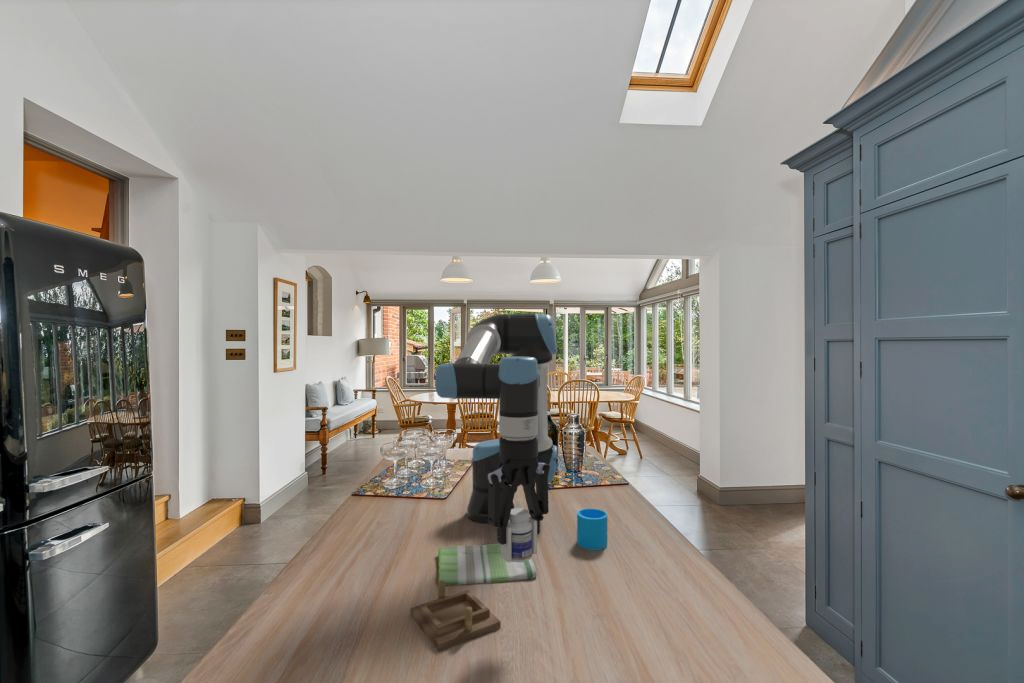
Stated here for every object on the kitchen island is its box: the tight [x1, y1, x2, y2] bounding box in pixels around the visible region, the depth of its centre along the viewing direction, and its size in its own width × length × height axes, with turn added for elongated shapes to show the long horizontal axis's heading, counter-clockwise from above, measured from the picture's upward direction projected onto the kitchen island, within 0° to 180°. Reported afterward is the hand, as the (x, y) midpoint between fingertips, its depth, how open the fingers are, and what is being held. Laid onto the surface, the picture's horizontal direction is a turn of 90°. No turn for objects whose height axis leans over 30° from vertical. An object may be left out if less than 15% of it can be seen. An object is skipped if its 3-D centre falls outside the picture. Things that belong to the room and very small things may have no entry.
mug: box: [576, 508, 608, 551], centre depth 135 cm, size 12×8×8 cm
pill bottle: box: [508, 507, 533, 562], centre depth 95 cm, size 5×5×9 cm
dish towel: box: [437, 542, 537, 585], centre depth 120 cm, size 17×23×4 cm
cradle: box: [409, 580, 502, 652], centre depth 97 cm, size 14×13×5 cm
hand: (519, 555), depth 95 cm, fingers closed on pill bottle, 5 cm apart
